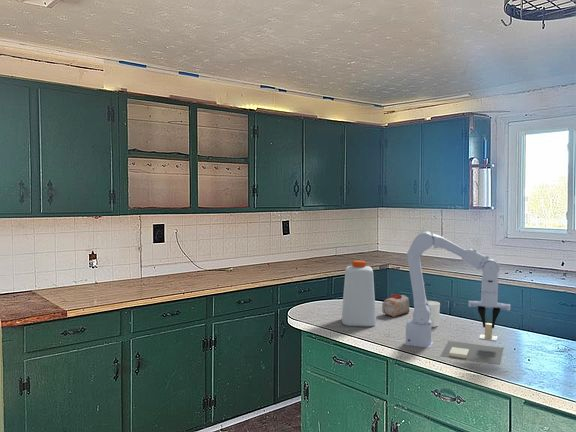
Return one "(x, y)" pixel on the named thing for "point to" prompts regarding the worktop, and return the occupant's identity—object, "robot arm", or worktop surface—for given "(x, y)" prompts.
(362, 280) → the plastic bottle
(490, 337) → the beige blocky piece
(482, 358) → the mat
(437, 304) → the white cup
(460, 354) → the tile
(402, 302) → the food item
